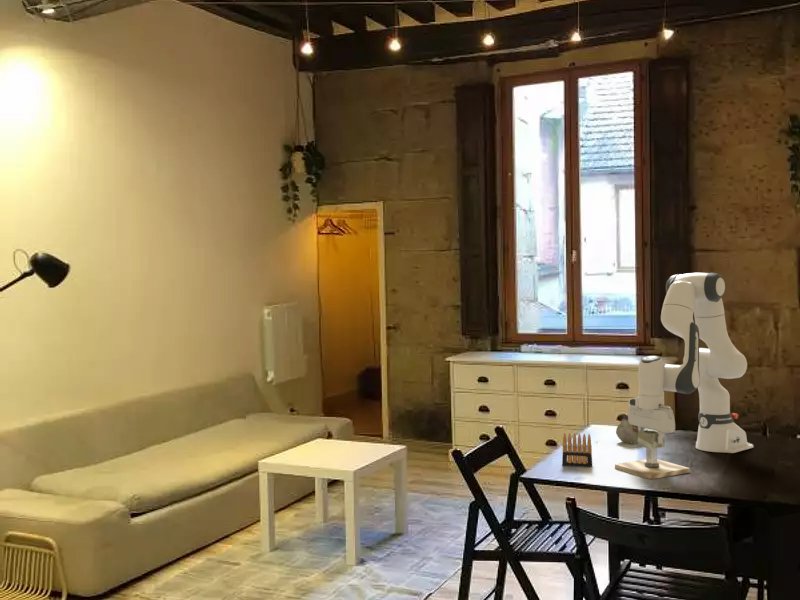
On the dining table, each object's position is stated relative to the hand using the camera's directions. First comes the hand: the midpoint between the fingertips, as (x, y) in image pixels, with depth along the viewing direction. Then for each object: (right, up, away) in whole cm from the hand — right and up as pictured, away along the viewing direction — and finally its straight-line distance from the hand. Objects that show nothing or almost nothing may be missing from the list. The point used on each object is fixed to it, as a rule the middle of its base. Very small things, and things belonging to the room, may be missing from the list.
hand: (651, 441), depth 308 cm
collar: (0, -2, 0) cm, 2 cm away
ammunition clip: (-24, -11, +10) cm, 28 cm away
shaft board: (0, -10, +1) cm, 10 cm away
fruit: (+4, -8, +46) cm, 47 cm away
